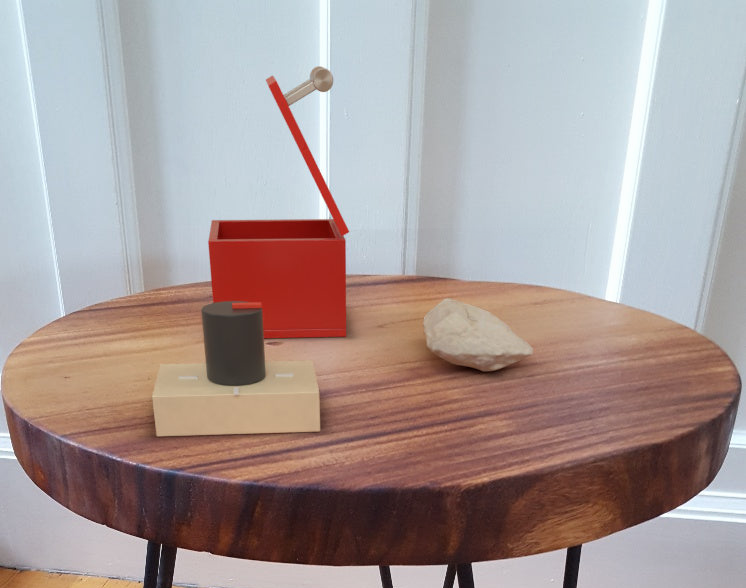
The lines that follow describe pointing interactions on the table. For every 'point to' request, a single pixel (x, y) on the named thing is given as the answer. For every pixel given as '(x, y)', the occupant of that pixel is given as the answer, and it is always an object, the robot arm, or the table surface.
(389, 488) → the table surface
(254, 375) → the valve knob
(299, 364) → the panel
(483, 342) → the stone
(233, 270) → the red open box
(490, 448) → the table surface
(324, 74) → the box lid
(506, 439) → the table surface
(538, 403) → the table surface
